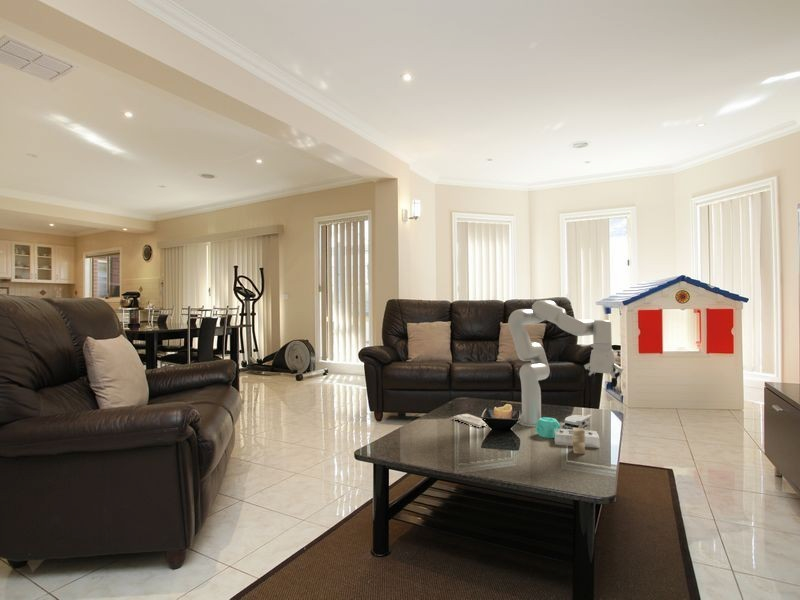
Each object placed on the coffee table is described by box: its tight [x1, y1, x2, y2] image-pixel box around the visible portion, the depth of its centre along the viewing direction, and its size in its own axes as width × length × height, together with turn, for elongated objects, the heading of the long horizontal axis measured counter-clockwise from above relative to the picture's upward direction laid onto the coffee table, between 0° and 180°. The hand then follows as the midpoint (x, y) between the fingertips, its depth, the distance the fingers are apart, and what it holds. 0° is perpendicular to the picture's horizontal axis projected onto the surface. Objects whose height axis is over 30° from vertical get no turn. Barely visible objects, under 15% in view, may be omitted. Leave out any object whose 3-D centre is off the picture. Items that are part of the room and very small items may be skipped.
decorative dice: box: [535, 416, 561, 439], centre depth 208 cm, size 8×8×8 cm
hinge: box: [563, 413, 593, 429], centre depth 225 cm, size 17×5×10 cm
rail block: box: [553, 428, 601, 449], centre depth 196 cm, size 18×10×5 cm, turn 73°
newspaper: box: [452, 413, 487, 428], centre depth 232 cm, size 23×12×2 cm, turn 29°
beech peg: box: [572, 427, 586, 455], centre depth 183 cm, size 4×4×10 cm
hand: (603, 385), depth 199 cm, fingers open, 9 cm apart
